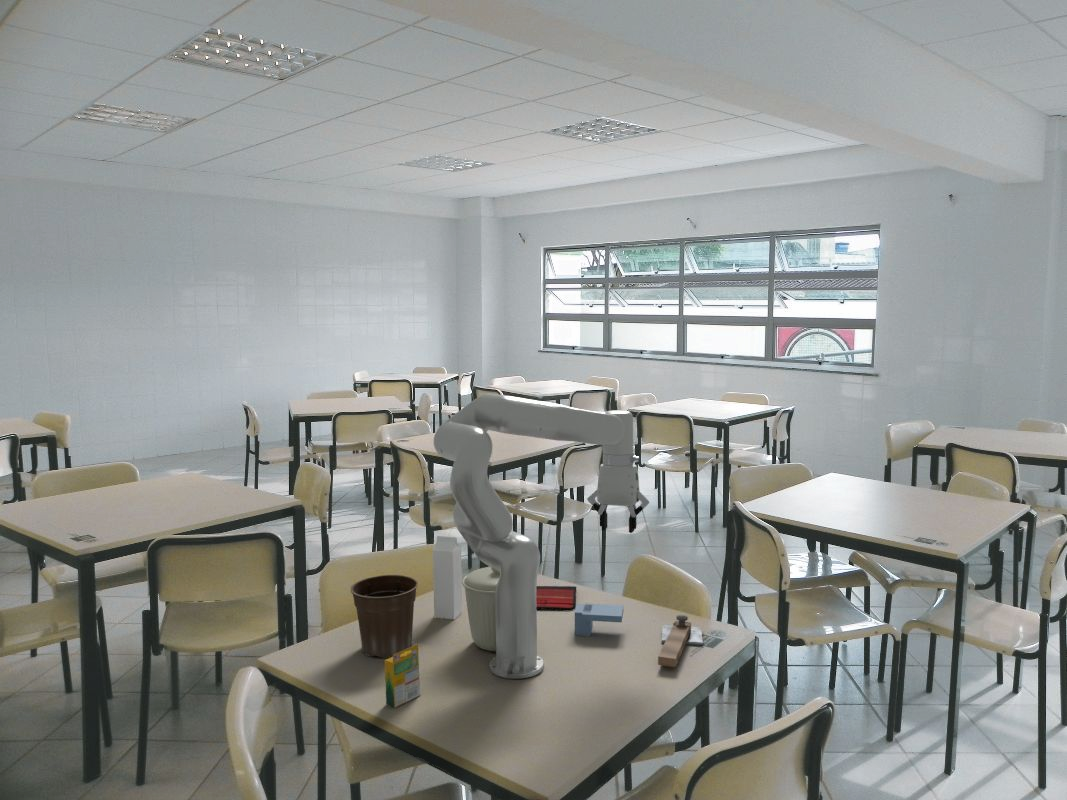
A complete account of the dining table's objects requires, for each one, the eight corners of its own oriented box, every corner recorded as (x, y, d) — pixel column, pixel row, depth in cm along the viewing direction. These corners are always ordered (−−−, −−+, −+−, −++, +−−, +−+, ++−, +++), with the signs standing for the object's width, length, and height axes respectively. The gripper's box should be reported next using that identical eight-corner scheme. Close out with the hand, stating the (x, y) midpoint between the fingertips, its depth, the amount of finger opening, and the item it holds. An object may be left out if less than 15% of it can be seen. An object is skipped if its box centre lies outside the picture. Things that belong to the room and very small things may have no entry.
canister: (451, 654, 192) (449, 569, 190) (478, 626, 210) (477, 548, 207) (522, 662, 187) (521, 575, 185) (544, 633, 204) (543, 553, 202)
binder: (506, 584, 237) (576, 585, 236) (506, 591, 238) (576, 592, 236) (500, 605, 221) (575, 607, 220) (500, 613, 222) (575, 615, 220)
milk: (442, 610, 222) (440, 533, 220) (462, 612, 220) (461, 534, 218) (433, 618, 216) (431, 538, 214) (454, 620, 214) (452, 540, 212)
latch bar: (674, 628, 204) (674, 612, 204) (692, 630, 203) (692, 614, 202) (657, 665, 182) (657, 647, 182) (676, 668, 181) (676, 650, 180)
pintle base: (702, 645, 196) (702, 642, 196) (661, 643, 197) (661, 640, 197) (701, 630, 205) (701, 627, 205) (662, 627, 207) (662, 624, 207)
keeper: (621, 639, 200) (621, 616, 199) (574, 636, 202) (574, 613, 201) (623, 627, 208) (623, 605, 207) (577, 624, 210) (577, 602, 209)
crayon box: (411, 691, 173) (409, 640, 172) (420, 695, 171) (419, 643, 170) (385, 704, 167) (383, 651, 166) (394, 708, 166) (393, 654, 164)
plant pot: (372, 668, 185) (370, 601, 183) (341, 647, 197) (339, 584, 196) (432, 649, 195) (430, 586, 193) (398, 630, 207) (397, 570, 206)
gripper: (655, 459, 198) (655, 529, 200) (588, 455, 204) (588, 524, 206) (649, 464, 191) (649, 537, 193) (580, 460, 197) (580, 531, 199)
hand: (618, 529), depth 199 cm, fingers open, 6 cm apart
